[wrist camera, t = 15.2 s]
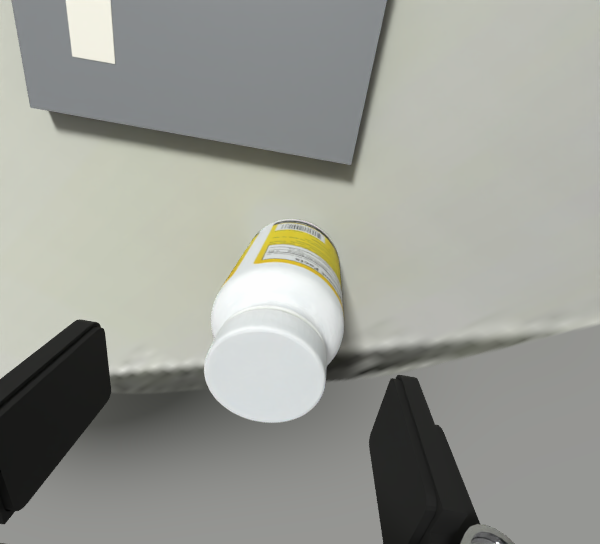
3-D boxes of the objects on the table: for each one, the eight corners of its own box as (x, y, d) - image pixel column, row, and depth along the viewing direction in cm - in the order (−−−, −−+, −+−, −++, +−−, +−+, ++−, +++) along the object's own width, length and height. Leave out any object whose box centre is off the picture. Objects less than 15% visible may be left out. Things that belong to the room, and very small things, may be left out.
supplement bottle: (276, 313, 21) (235, 453, 12) (232, 240, 19) (144, 342, 10) (354, 281, 19) (374, 414, 10) (314, 200, 18) (297, 277, 9)
